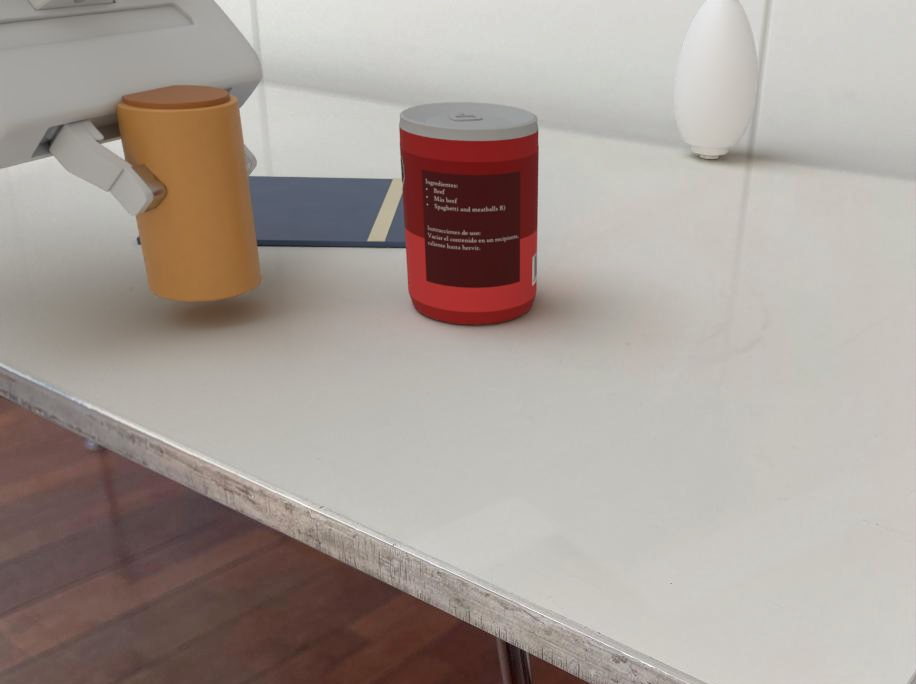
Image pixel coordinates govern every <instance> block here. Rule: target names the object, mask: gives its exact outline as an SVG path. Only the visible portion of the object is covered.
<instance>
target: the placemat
mask: <svg viewBox="0 0 916 684" xmlns="http://www.w3.org/2000/svg"><path fill="white" fill-rule="evenodd" d="M248 178H249V186H250V194H251V201H252V209H253V217H254V224H255V232H256V240H257V246H279V247H280V246H281V247H282V246H285V247H286V246H289V247H294V246H295V247H356V248H357V247H358V248H359V247H360V248H361V247H363V248H365V247H366V248H406V242H405V225H404V208H403V190H402V177H401V178H396V177H393V178H374V177H373V178H366V177H365V178H364V177H322V176H321V177H319V176H318V177H316V176H270V175H269V176H266V175H262V176H261V175H249V176H248ZM136 243H137V244H138V245H139V244H140V245H141V242H140V237H139V236H138V237H136Z"/></svg>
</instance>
